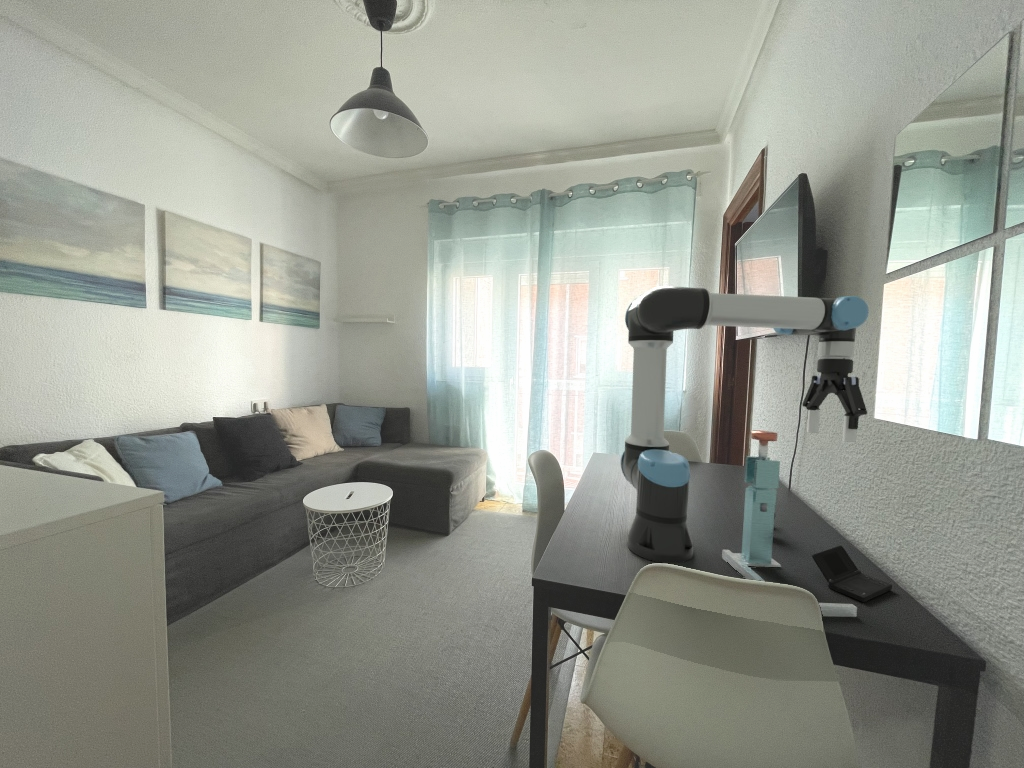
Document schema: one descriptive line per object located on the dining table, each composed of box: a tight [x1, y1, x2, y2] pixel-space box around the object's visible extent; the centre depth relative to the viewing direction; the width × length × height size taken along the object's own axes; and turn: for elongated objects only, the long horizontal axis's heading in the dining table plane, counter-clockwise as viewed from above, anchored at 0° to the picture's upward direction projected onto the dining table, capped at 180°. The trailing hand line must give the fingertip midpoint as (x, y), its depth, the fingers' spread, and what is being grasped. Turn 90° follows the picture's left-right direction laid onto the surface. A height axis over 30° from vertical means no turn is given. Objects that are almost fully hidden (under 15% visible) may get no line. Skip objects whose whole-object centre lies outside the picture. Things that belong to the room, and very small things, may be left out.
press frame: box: [721, 455, 858, 618], centre depth 83 cm, size 13×22×24 cm, turn 179°
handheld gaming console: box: [811, 545, 893, 603], centre depth 83 cm, size 11×10×4 cm
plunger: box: [750, 429, 778, 460], centre depth 91 cm, size 5×5×8 cm
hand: (829, 437), depth 108 cm, fingers open, 13 cm apart
